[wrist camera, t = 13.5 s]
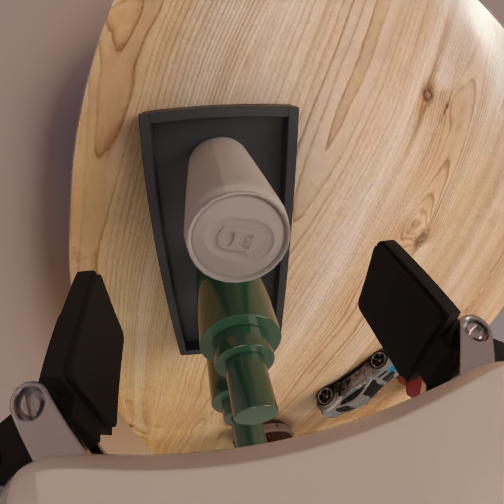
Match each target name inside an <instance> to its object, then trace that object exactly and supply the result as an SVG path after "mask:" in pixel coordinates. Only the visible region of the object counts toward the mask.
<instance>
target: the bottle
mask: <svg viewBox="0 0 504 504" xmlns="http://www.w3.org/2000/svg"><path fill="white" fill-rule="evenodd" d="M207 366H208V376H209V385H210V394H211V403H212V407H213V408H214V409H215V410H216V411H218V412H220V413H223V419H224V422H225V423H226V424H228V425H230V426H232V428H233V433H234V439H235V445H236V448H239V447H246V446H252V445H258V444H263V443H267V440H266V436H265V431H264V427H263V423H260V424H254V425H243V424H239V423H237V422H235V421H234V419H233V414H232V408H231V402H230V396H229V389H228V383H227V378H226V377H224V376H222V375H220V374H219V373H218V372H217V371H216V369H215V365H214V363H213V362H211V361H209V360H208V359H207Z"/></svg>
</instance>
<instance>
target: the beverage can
mask: <svg viewBox="0 0 504 504" xmlns="http://www.w3.org/2000/svg"><path fill="white" fill-rule="evenodd" d="M184 239H185V243H186V247H187V249H188V252H189V256H190V258H191V259H192V261H193V263H194V264H195V266H196V267H197V268H198V269H200V270H201V271H202V272H203V273H204V274H206V275H207V276H209V277H211V278H213V279H215V280H219V281H223V282H232V283H240V282H246V281H251V280H254V279H256V278H259V277H261V276H263V275H265V274H266V273H268V272H269V271H271V270H272V269H273V268H274V267H275V266H276V265H277V264H278V263H279V262H280V261H281V260H282V258H283V257H284V255H285V253H286V251H287V249H288V246H289V242H290V225H289V219H288V216H287V213H286V210H285V207H284V205H283V204H282V202H281V201H280V199H279V198H278V196H277V195H276V193H275V192H274V190H273V189H272V187H271V186H270V184H269V183H268V181H267V180H266V178H265V177H264V175H263V174H262V172H261V171H260V169H259V168H258V167H257V165H256V164H255V162H254V161H253V159H252V158H251V156H250V155H249V154H248V152H247V151H246V149H245V148H244V147H243V145H242V144H240V143H239V142H238V141H236V140H234V139H231V138H229V137H216V138H211V139H208V140H206V141H203V142H202V143H201V144H199V145H198V146H197V147H196V148H195V149H194V150H193V152H192V154H191V156H190V159H189V165H188V176H187V189H186V203H185V220H184Z"/></svg>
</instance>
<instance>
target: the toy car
mask: <svg viewBox="0 0 504 504" xmlns="http://www.w3.org/2000/svg"><path fill="white" fill-rule="evenodd" d="M381 355H384V358H383V357H381ZM378 356H379V357H380V358H378V359H376V358H377V357H378ZM375 360H376V361H377V362H375ZM398 375H399V374H398V372H397V371H396V369H395V367H394V365H393V364H392V362H391V360H390V359H389V357H388V355H387V354H385V353H384V352H381V351H378V352H376V353H374V354H373V356H372V357H371V360H370V362H369V361H367V362H366V363H365V364H364V365H363V366H362V368H360V369H359V370H358V371H356V372H355V373H353V374H352V375H351V376H349V377H348V378H346V379H345V380H344V381H342V382H338V383H336V384H335V385H333V386H334V389H332V388H329V387H324V388H322V389H321V390H320V391H319V393H318V395H317V406H318V408H319V409H320V410H321V412H322V415H323V416H325V417H330V418H334V417H337V416H339V415H341V414H343V413H345V412H348V411H350V410H353V409H355V408H358V407H360V406H362V405H364V404H365V403H367V402H368V401H369V400H370V399H372V398H373V397H374V396H375V395H376V394H377V393H378V392H379V391H380V390H381V388H382V387H383V386H384V385H386V384H387V383H388V382H390V381H391V380H392V379H394V378H395V377H397V376H398ZM329 390H330V391H331V393H329ZM325 392H327V394H325ZM323 396H324V397H323Z"/></svg>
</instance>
